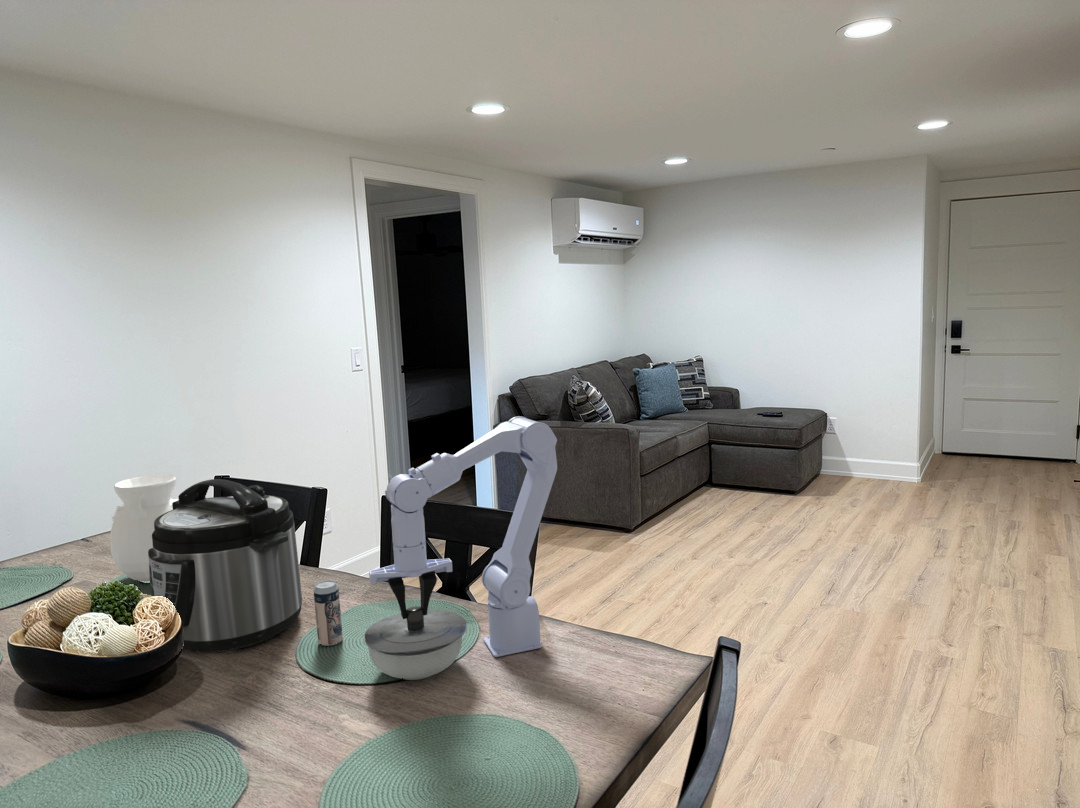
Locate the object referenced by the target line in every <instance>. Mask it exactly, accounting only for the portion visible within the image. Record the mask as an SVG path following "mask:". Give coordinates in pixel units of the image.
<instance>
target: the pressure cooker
mask: <svg viewBox="0 0 1080 808" xmlns="http://www.w3.org/2000/svg"><path fill="white" fill-rule="evenodd" d="M210 487H213V488H216V489H219V490H221V491H224V492H226V493H228V494H230V496H219V497H218V496H217V497H216V496H214V497H206V496H207V493H208V491H209V489H210ZM289 504H290V503H289V502H288V500H287V499H285V498H283V497H281V496H277V495H269V494H268V495H267V494H265V490H264V488H263V487H262V486H260V485H258V484H253V485H249V486H246V485H243V484H241V483H238V482H235V481H232V480H228V479H222V478H218V479H217V478H215V479H213V478H212V479H207V480H206V479H205V480H202V481H199V482H196V483H195V484H193V485H191V486H189V487H187V488H186V489H184V490H183V491H182V492H181V493H180V494H179V495H178V501H175V502H173V503H172V505H173V510H171V511H168V512H166V513H164V514H162V515H161V516H159V517H158V518H156V520H155V521H154V532H153V533H152V543H153V548H151V549H149V550H148V557H149V575H150V584H149V586H150V597H151V596H163V597H166V598H168V599H169V600H170V601H171V602H172V603H173V605H174V606H175V608H176V610H177V612H178V613H179V615H180V617H181V619H182V624H183V629H184V646H183V651H187V652H191V653H192V652H193V653H198V652H199V653H219V652H226V651H233V650H237V649H239V650H240V649H243V648H246V647H250V646H254V645H256V644H259V643H262V642H266V641H268V640H270V639H271V638H273V637H274V636H276V635H277V634H279V633H281V632H283V631H286V630H287V629H289V628H291V626H293V625H294V624H295V623H296V621H298V618H299V616H300V614H301V611H302V604H303V593H302V585H301V582H302V581H301V575H300V574H301V573H300V565H299V555H298V548H297V546H298V545H297V537H296V528H295V520H294V513H293V511H292V510H291V509H290V506H289Z"/></svg>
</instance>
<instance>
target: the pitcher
mask: <svg viewBox="0 0 1080 808" xmlns="http://www.w3.org/2000/svg"><path fill="white" fill-rule="evenodd" d="M176 482H177V478H176V476H175V475H173V474H148V475H141V476H136V477H130V478H127V479H123V480H120V481H118V482H116V483H115V485H114V487H113V488H114V491H115V494H116V495H117V497H118V498H119V499H120V500H121V502H122V503H123V504H122V506H116V510H115V512H114V514H113V516H112V517H111V520H112V524H111V529H110V534H109V535H110V536H109V537H110V539H109V541H110V543H109V547H110V552H111V558H112V559H113V562H114V564H115V565H116V567H117V569H118V571H119V572H121V573H122V574H124V575H125V576H126V577H127V578H130V579H132V580H134V581H135V580H138V581H150V575H149V557H148V550H149V549H151V548H153V543H152V533H153V532H154V521H155V520H156V518H158V517H159V516H161V515H162V514H164V513H166V512H168V511H171V510H173V505H172V503H173V502H175V501H178V500H179V498H175V499H173V498H172V494H173V492H174V489H175V486H176Z"/></svg>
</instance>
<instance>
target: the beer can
mask: <svg viewBox="0 0 1080 808" xmlns="http://www.w3.org/2000/svg"><path fill="white" fill-rule="evenodd" d="M339 589H340V588H339V586H338V584H337V583H336V581H335V580H322V581H320V582H318V583H317V584H315V586H314V588H313V600H314V610H315V622H316V624H315V625H316V632H317V633H316V635H317V643H318V644H319V645H320V644H322V645H321V646H323V645H333V644H336V643H338V642H339V643H340V642H342V641H343V638H344V637H343V627H342V615H341V603H340V602H341V601H340V590H339ZM339 643H338V644H339ZM336 645H337V644H336ZM333 646H334V645H333Z"/></svg>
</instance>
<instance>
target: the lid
mask: <svg viewBox="0 0 1080 808" xmlns="http://www.w3.org/2000/svg"><path fill="white" fill-rule="evenodd" d="M406 611H407V619H403V618H402V616H401V613H397V614H394V615H391V616H388V617H384V618H382V619H380V620H378V621H376V622H375V623H373V624H372V625H370V626H369V627H368V628H367V629H366V631H365V632H364V642H365V644H366V645H367V647H368V646H369V647H370V648H372V649H374V650H377V651H381V652H386V653H397V654H398V653H416V652H423V651H428V650H432V649H436V648H440V647H442V646H445V645H448V644H450V643H452V642H454V641H456V640H457V639H459V638H460V637H461V636H462V637H463V635H464V634H465V633H466V631H467V629H468V628H467V621H466V618H464V617H463V616H462V615H460V614H459V613H456V612H452V611H447V610H439V609H428V610H427V615H423V608H422V607H421V606H420V605H419V606H411V607H408V608H406Z"/></svg>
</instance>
